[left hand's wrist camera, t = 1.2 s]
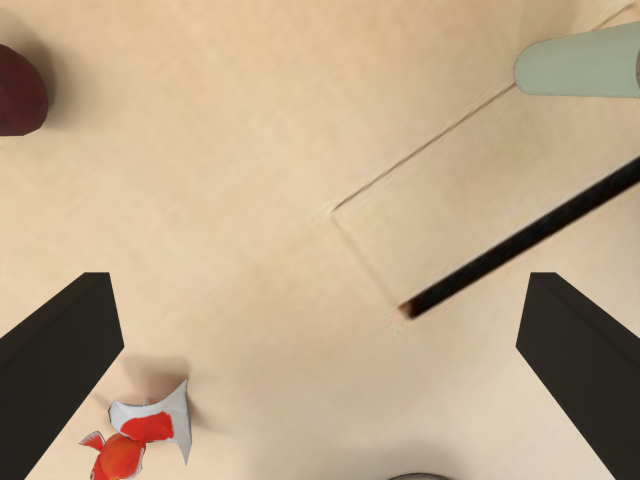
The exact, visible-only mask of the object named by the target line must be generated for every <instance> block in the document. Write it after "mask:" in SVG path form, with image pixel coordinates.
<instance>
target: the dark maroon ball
mask: <svg viewBox="0 0 640 480" xmlns="http://www.w3.org/2000/svg"><path fill="white" fill-rule="evenodd" d="M47 110H48V101H47V95H46V89H45V86H44V83H43V81H42V79H41V77H40V75H39V73H38V71H37V69H36V68H35V67H34V66H33V65H32V64H31V63H30V62H29V61H28V60H27V59H26V58H24V57H23V56H21V55H20V54H18V53H17V52H15V51H14V50H12V49H11V48H9V47H7V46H4V45H2V44H0V136H24V135H26V134H28V133H31V132H33V131H35V130H37V129H39V128H40V127H41V125H42V124H43V122H44V121H45V119H46V116H47Z"/></svg>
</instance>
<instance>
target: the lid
mask: <svg viewBox="0 0 640 480" xmlns="http://www.w3.org/2000/svg"><path fill="white" fill-rule="evenodd" d="M636 79H637V83H638V86H639V89H640V50H639V53H638V56H637V60H636Z"/></svg>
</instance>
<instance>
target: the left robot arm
mask: <svg viewBox="0 0 640 480" xmlns="http://www.w3.org/2000/svg"><path fill="white" fill-rule="evenodd" d="M123 348H124V342H123V337H122V332H121V327H120V323H119V318H118V313H117V308H116V303H115V298H114V293H113V289H112V284H111V279H110V274H109V272H85V273H83V274H82V275H81V276H79V277H78V278H77V279H76V280H74V281H73V282H72V283H70V284H69V285H68V286H67V287H65V288H64V289H63V290H62V291H60V292H59V293H58V294H56V295H55V296H54V297H53V298H51V299H50V300H49V301H48V302H46V303H45V304H44V305H42V306H41V307H40V308H39V309H37V310H36V311H35V312H33V313H32V314H31V315H30V316H28V317H27V318H26V319H25V320H23V321H22V322H21V323H19V324H18V325H17V326H16V327H14V328H13V329H12V330H11V331H9V332H8V333H7V334H5V335H4V336H3V337H2V338H0V480H24V479H25V478H26V477H27V475H28V474H29V473H30V471H31V470H32V469H33V467H34V466H35V465H36V463H37V462H38V461H39V460H40V458H41V457H42V456H43V454H44V453H45V452H46V450H47V449H48V448H49V446H50V445H51V444H52V442H53V441H54V440H55V438H56V437H57V436H58V434H59V433H60V432H61V430H62V429H63V428H64V426H65V425H66V424H67V422H68V421H69V420H70V418H71V417H72V416H73V414H74V413H75V412H76V410H77V409H78V408H79V407H80V405H81V404H82V403H83V401H84V400H85V399H86V397H87V396H88V395H89V393H90V392H91V391H92V389H93V388H94V387H95V385H96V384H97V383H98V381H99V380H100V379H101V377H102V376H103V375H104V373H105V372H106V371H107V369H108V368H109V367H110V365H111V364H112V363H113V361H114V360H115V359H116V357H117V356H118V355H119V354H120V352H121V351H122V350H123ZM516 348H517V350H518V351H519V352H520V354H521V355H522V356H523V357H524V359H525V360H526V361H527V363H528V364H529V365H530V367H531V368H532V369H533V371H534V372H535V373H536V375H537V376H538V377H539V379H540V380H541V381H542V383H543V384H544V385H545V387H546V388H547V389H548V391H549V392H550V393H551V395H552V396H553V397H554V399H555V400H556V401H557V403H558V404H559V405H560V407H561V408H562V409H563V410H564V412H565V413H566V414H567V416H568V417H569V418H570V420H571V421H572V422H573V424H574V425H575V426H576V428H577V429H578V430H579V432H580V433H581V434H582V436H583V437H584V438H585V440H586V441H587V442H588V444H589V445H590V446H591V448H592V449H593V450H594V452H595V453H596V454H597V456H598V457H599V458H600V460H601V461H602V462H603V463H604V465H605V466H606V467H607V469H608V470H609V471H610V473H611V474H612V475H613V477H614V478H615V479H616V480H640V338H638V337H637V336H636V335H635V334H633V333H632V332H631V331H629V330H628V329H627V328H626V327H624V326H623V325H622V324H621V323H619V322H618V321H617V320H615V319H614V318H613V317H612V316H610V315H609V314H608V313H607V312H605V311H604V310H603V309H601V308H600V307H599V306H598V305H596V304H595V303H594V302H592V301H591V300H590V299H589V298H587V297H586V296H585V295H584V294H582V293H581V292H580V291H578V290H577V289H576V288H575V287H573V286H572V285H571V284H570V283H568V282H567V281H566V280H564V279H563V278H562V277H561V276H559V275H558V274H557V273H555V272H531V274H530V279H529V284H528V289H527V293H526V298H525V303H524V308H523V313H522V318H521V323H520V327H519V332H518V337H517V342H516ZM392 480H447V479H444V478H441V477H438V476H433V475H425V474H415V475H407V476H402V477H398V478H395V479H392Z"/></svg>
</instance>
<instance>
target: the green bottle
mask: <svg viewBox="0 0 640 480" xmlns="http://www.w3.org/2000/svg"><path fill="white" fill-rule="evenodd" d="M639 50H640V21H637V22H632V23H628V24H623V25H618V26H613V27H609V28H604V29H599V30H594V31H589V32H585V33H580V34H575V35H570V36H566V37H561V38H556V39H551V40H546V41H542V42H537V43H534V44H532V45H530V46H529V47H527V48H526V49H525V50H524V51H523V52H522V53H521V54H520V56H519V58H518V60H517V62H516V64H515V69H514V78H515V82H516V84H517V86H518V87H519V88H520V89H521V90H522V91H523V92H525V93H527V94H530V95H552V96H583V97H613V98H640V89H639V86H638V83H637V79H636V60H637V56H638V53H639Z"/></svg>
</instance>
